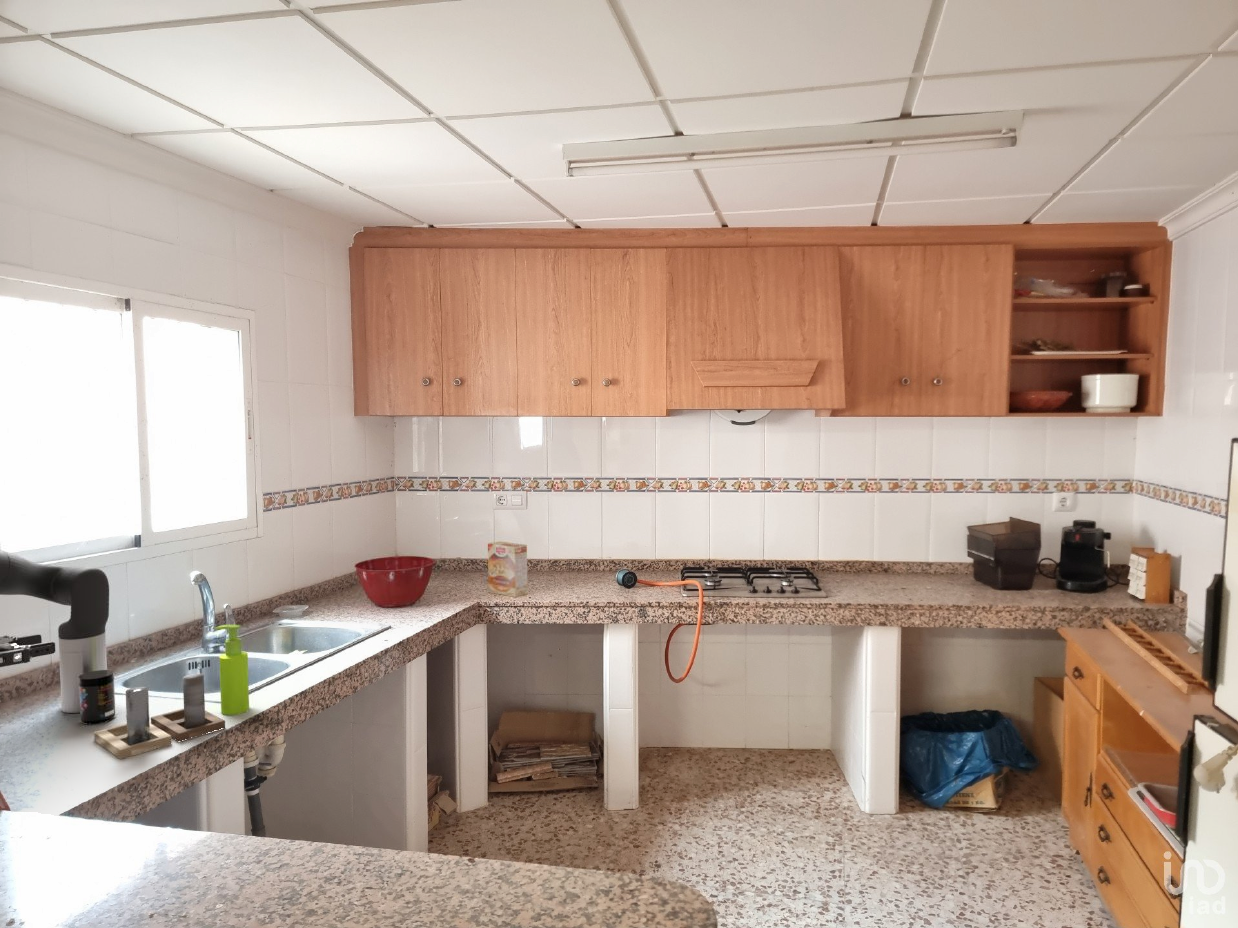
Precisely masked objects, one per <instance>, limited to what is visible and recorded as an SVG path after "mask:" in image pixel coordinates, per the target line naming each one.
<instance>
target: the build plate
mask: <svg viewBox="0 0 1238 928" xmlns="http://www.w3.org/2000/svg"><path fill="white" fill-rule="evenodd" d="M149 724H150V740H149V741H145V742H141V743H138V744H134V745H131V746H129V745H128V742H127V723H123V724H120V725H115V726H112V727H108V728H104V729H100V730H97V731H94V732H93V740H94V742H96V743H97V744H99V745H100V746H102V748H104V749H106V750H107V751H109V752H110V753H112V754H113V755H114V756H116V757H117V758H118V759H120V760H122V759H125V758H129V757H132V756H135V755H139V754H143V753H145V752H150V751H153V749H154V750H157V749H160V748H159V747H161V748H164V747H167V746H166V745H168V746H170V745H169V744H171V743H172V737H171V735H169V734H167V733H166V732H164V731H162V730H161V729H159V728H157V727H156V726H154V725H152V724H151V722H149ZM171 745H172V744H171ZM156 748H157V749H156ZM149 750H150V751H149ZM142 752H143V753H142Z"/></svg>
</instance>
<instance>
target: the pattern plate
mask: <svg viewBox="0 0 1238 928" xmlns="http://www.w3.org/2000/svg"><path fill="white" fill-rule="evenodd" d="M182 690H183V691H182V693H183V708H181V709H177V710H176V709H175V710H174V711H170V712H166V713H161V714H158V715H154V716H151V717H150V723H151V724H152V725H154V726H156V727H157V728H159V729H161V730H162V731H164V732H166V733H167V734H169V735H171V739H173V738H174V740H175V739H176V740H175V741H176V742H178V741H181V742H183V741H182V740H185V739H188V740H190V739H189V738H191V737H195V736H199V737H201V736H200V735H202V734H205V735H207V734H206V733H208V732H212V731H214V730H219V729H221V728H225V729H226V720H225V719H223V718H221V717H219V716H217V715H215V714H213V713H212V712H209V711H207V710H206V704H205V703H206V702H205V675H204V674H203V673H191V674H187V675H185V676H183V677H182ZM219 731H220V730H219ZM212 733H213V732H212ZM202 736H203V735H202ZM195 738H196V737H195ZM185 741H186V740H185Z"/></svg>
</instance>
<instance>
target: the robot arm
mask: <svg viewBox="0 0 1238 928" xmlns="http://www.w3.org/2000/svg"><path fill="white" fill-rule="evenodd" d="M0 595H3V596H13V595H15V596H16V595H17V596H18V595H21V596H23V595H24V596H28V597H33V598H37V599H41V600H45V601H48V602H52V603H54V604H55V603H56V604H59V605H61V606H62V605H63V606H67V607H68V606H70V617H69V619H68V621H64V622H63V623H61V624H59V626H58V629H57V631H58V632H57V635H58V651H59V653H58V656H59V657H58V658H59V674H60V675H59V677H60V679H59V680H60V701H61V703H60V704H61V711H62V712H63V713H67V714H70V713H71V714H74V713H75V714H78V713H80V694H79V676H80V675H82V674H84V673H88V672H92V671H98V670H108V663H107V660H108V659H107V641H106V640H107V639H106V626H107V623H108V620H109V616H110V583H109V579H108V577H107V575H106V573H105V571H103V570H102V569H100V568H99V567H98V568H97V567H94V566H93V567H91V566H80V565H79V566H78V565H77V566H76V565H69V566H68V565H52V564H43V563H38V562H37V563H36V562H33V561H31V560H28V559H27V558H24V557H21V556H20V555H17V554H15V553H12V552H9V551H5V550H0ZM20 653H21V656H20V655H19V654H20ZM54 653H56V643H55V641H47V642H42V635H41V634H39V633H36V634H29V635H22V636H10V635H4V636H0V668H3V667H9V666H13V665H14V666H15V665H21V664H27V663H30V662H31V660H32V658H38V657H43V656H49V655H52V654H54Z"/></svg>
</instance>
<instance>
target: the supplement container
mask: <svg viewBox="0 0 1238 928" xmlns="http://www.w3.org/2000/svg"><path fill="white" fill-rule="evenodd" d="M115 693H116V692H115V671H114V670H111V669H107V670H98V671H92V672H88V673H84V674H82V675H80V676H79V694H80V712H79V714H80V716H79V717H80V722H81V723H82V724H84V725H98V724H99V725H100V724H103V723H106V722H109V721H111V720H113V719H114V718H115V716H116V697H115V695H116V694H115Z"/></svg>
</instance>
